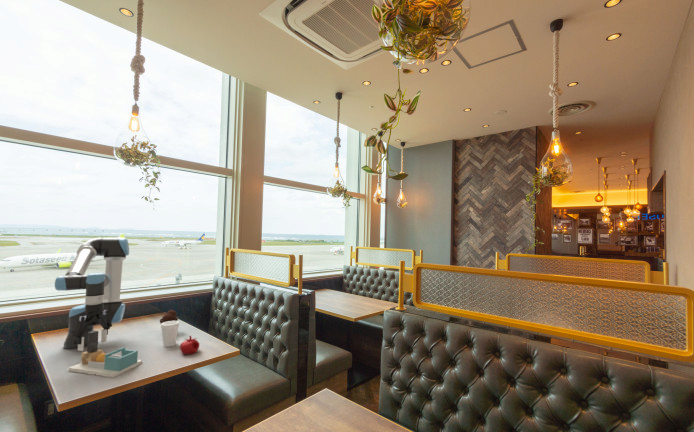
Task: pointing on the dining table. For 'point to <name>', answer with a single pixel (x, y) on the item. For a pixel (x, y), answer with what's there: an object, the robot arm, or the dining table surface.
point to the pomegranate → (189, 346)
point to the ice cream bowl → (169, 317)
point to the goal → (120, 359)
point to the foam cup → (169, 332)
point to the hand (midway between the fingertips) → (92, 346)
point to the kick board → (99, 368)
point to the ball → (101, 358)
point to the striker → (91, 348)
